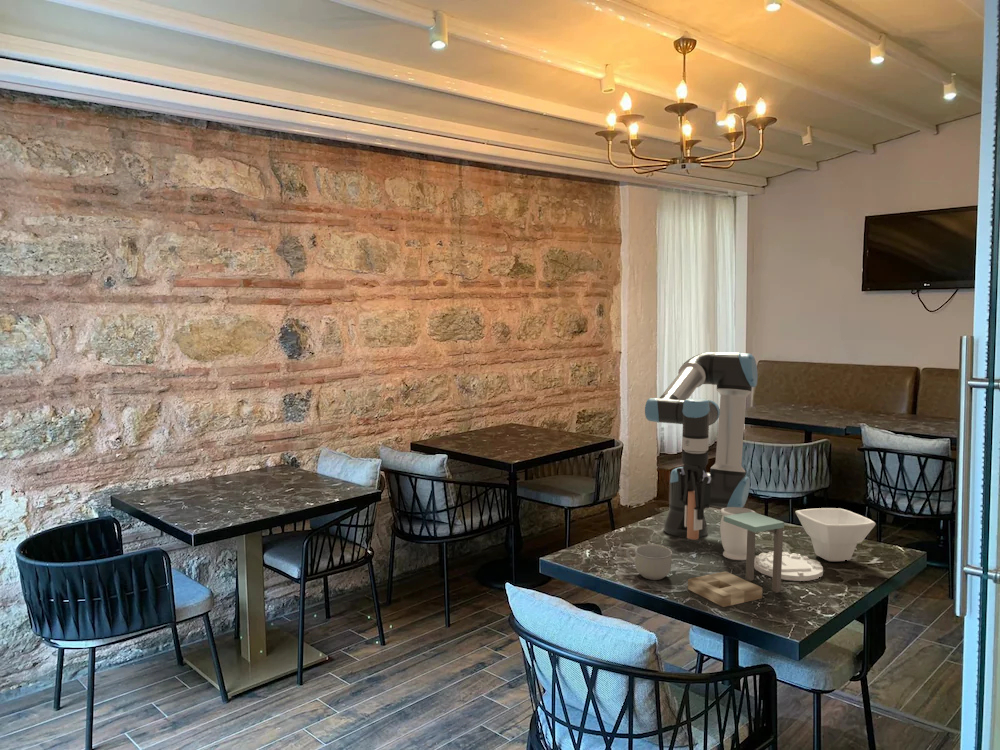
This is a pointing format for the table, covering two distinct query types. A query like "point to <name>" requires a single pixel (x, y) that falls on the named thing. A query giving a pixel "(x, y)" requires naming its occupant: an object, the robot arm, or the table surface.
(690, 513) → the peg
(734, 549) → the jar
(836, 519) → the bowl
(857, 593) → the table surface
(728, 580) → the socket block
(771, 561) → the white round plaque
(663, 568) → the teacup
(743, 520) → the green-topped stool
